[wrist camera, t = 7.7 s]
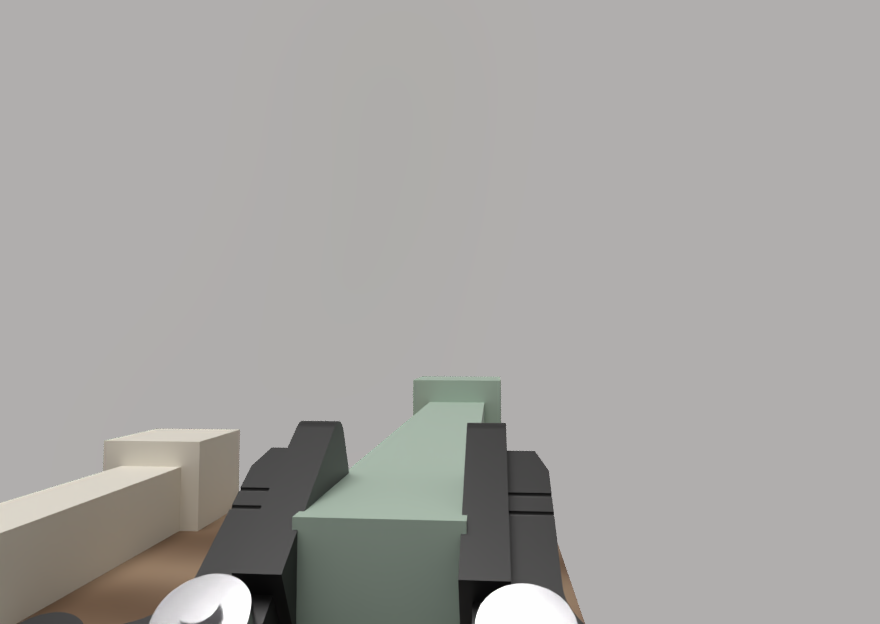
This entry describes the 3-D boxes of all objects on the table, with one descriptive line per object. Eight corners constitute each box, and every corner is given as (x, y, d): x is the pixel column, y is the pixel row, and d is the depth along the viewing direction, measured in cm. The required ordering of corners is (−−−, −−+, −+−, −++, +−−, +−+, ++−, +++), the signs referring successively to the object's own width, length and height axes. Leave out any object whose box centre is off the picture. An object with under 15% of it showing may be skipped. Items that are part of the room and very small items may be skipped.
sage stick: (520, 708, 9) (519, 449, 9) (238, 694, 9) (243, 446, 9) (499, 445, 33) (499, 376, 33) (422, 444, 33) (423, 376, 33)
